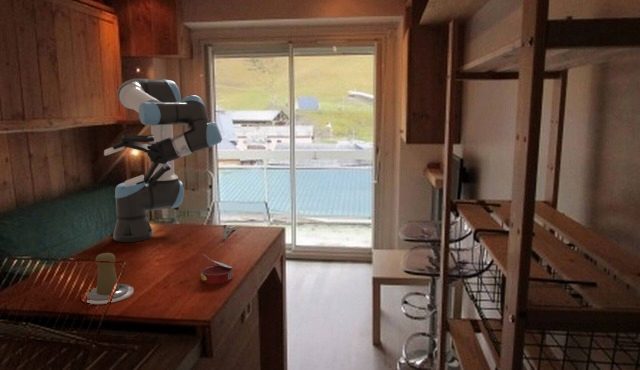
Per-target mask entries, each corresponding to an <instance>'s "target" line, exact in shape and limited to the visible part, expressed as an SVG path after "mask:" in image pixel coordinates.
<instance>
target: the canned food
mask: <svg viewBox="0 0 640 370" xmlns="http://www.w3.org/2000/svg"><path fill="white" fill-rule="evenodd" d="M201 255H203V256H204V257H205V258H206V259H208V260H210V261H212V262H213V263H215V264H209V265H207V266H203V267H202V268H201V269H200V279H201V280H200V281H201V282H203V283H205V282H206V284H223V283H227V282H229V281H231V280H232V279H233V276H234V275H233V266H231V265H229V264H225V263H223V262H219V261H215V260H213V259H211V258H209V257H208V256H207V255H206V254H204V253H202V254H201Z"/></svg>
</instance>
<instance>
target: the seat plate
mask: <svg viewBox="0 0 640 370" xmlns="http://www.w3.org/2000/svg"><path fill="white" fill-rule="evenodd" d="M118 286H119V290H118V291H117V292H115V293H114V295H113V298H112V301H111V303H110V304H114V303H117V302H121V301H124V300H126V299H128V298H129V297H132V295H133V294H134V292H135V291H134V287H133V286H131V285H129V284H125V283H118ZM95 287H96V288H94V287H92V288H93V289H92V288H91V289H92V290H91V292H88V293H87V294H86V296H87V298H88V299H90V300H87V303H90V304H89V305H93V304H94V305H96V306H97V305H106V304H107V302H108V299H109V297H110V294H107V295H100V294H97V293H96V291H97V286H95ZM107 305H108V304H107Z"/></svg>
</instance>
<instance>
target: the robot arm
mask: <svg viewBox="0 0 640 370" xmlns="http://www.w3.org/2000/svg"><path fill="white" fill-rule="evenodd" d="M116 94H117V99H118V101H119V102H120V104H121V105H122V106H124V108H127V109H129V110H134V111H135V112H136V113H138V118H139V120H140V123H141V124H142V125H145V126H150V130H151V131H150V133H151V134H148V135H137V134H122V136H121V141H119V142H116V143H114V144H113V145H112V146H111V147H108V148H107V149H104V151H103V155H104V156H105V157H106V156H110V155H112V154H114V153H117V152H120V151H124V150H125V148H129V149H133V150H138V151H141V152H144V153H146V154H147V156H148V157H149V159H150V162H152V164H151V165H150V167H149V168H148V171H147V172H146V174H145V175H144V174H141V175H138V176H136V177H133V178H129V179H126V180H125V181H124V182H121V183H119V184H117V185H116V187H115V190H114V192H115V193H114V198H115V209H116V211H115V212H116V223H115V227H114V231H113V233H112V234H113V241H115V242H120V243H134V242H141V241H145V240H149V239H151V238H152V237H153V236H154V233H153V229H152V226H151V224H150V222H149V219H148V212H149V211H158V210H166V209H167V210H169V209H173V208H174V209H175V208H178V207H179V206H181V204H182V202H183V200H184V195H185V194H184V193H185V189H184V183H183V182H182V181H181V180H180V179H179V177H178V175H177V174H176V173H175V160H178V159H180V157H181V158H182V157H186V156H189V155H190V154H193V153H196V152H198V151H202V150H206V149H208V148H212V147H213V146H216V145H217V144H221V142H222V141H223V136H222V134H221V130H220V129H219V126H218V124H217V123H216V122H215V121H210V118H209V116H208V115H209V114H208V112H207V108H206V105H205V103H204V101H203V99H202V98H201V97H200V96H198V95H194V94H193V95H192V94H191V95H190V96H185V97H184V98H182V97H181V91H180V88H179V86H178V85H177V83H176V82H175V81H173V80H170V79H163V78H160V79H159V78H158V79H157V78H155V79H153V78H132V79H129V80H126V81H124V82H123V83H121V85H120V86H119V87H118V89H117V93H116ZM174 125H175V126H176V125H177V126H179V125H180V126H181V125H183V126H185V125H186V126H187V128H188V130H187V131H184V132H181V133H177V134H176V135H174V132H173V131H174V130H173V129H174V128H173V126H174ZM144 143H145V144H144ZM147 143H149V144H147Z"/></svg>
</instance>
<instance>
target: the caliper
mask: <svg viewBox="0 0 640 370" xmlns="http://www.w3.org/2000/svg"><path fill="white" fill-rule="evenodd" d="M222 226H223V228H222V240H223V241H227V238H228V234H230V232H231V231H235V230H237V228H238V227H237V225H232V226H228V225H227V224H223V225H222Z"/></svg>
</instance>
